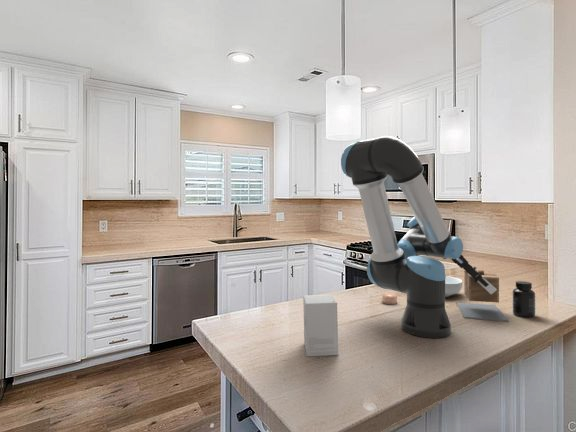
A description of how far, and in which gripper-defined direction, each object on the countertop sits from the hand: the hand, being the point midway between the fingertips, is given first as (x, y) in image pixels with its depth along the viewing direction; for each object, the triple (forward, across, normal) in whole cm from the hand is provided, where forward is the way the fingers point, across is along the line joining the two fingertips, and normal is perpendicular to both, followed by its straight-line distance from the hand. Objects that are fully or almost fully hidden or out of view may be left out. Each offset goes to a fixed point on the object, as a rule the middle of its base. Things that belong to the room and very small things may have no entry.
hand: (490, 287), depth 127 cm
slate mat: (+4, 0, +9) cm, 10 cm away
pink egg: (-19, +4, +32) cm, 38 cm away
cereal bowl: (-3, +22, +17) cm, 28 cm away
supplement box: (-33, -48, +44) cm, 73 cm away
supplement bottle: (+14, 0, -1) cm, 14 cm away
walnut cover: (+1, 0, +5) cm, 5 cm away
